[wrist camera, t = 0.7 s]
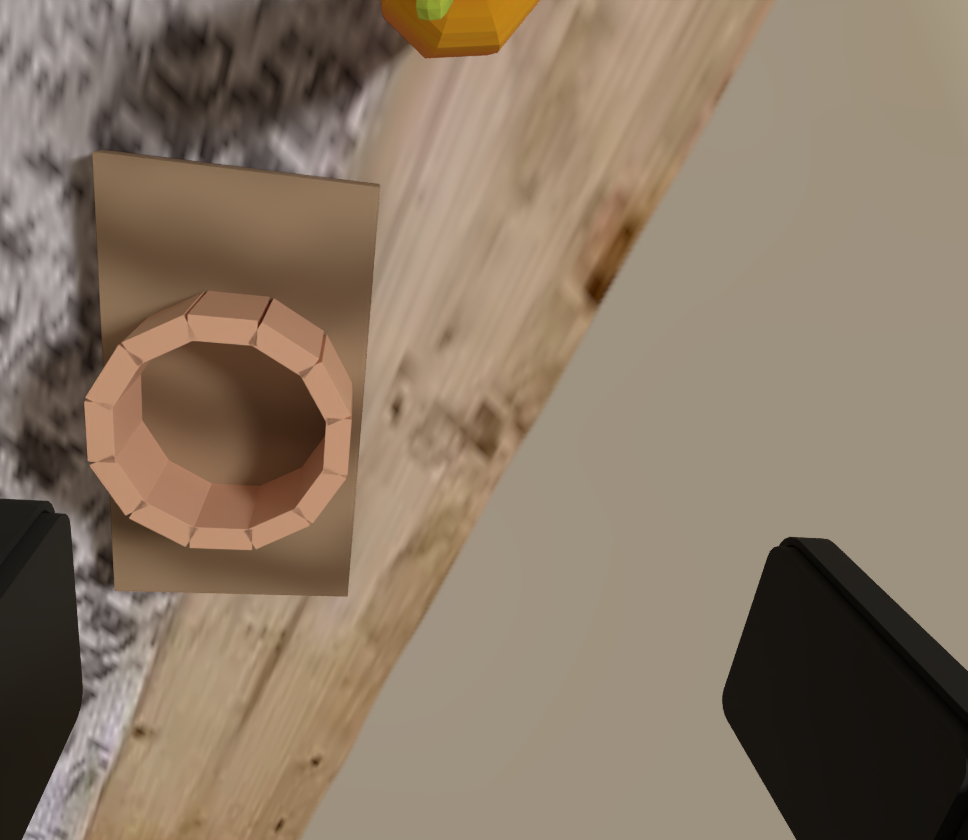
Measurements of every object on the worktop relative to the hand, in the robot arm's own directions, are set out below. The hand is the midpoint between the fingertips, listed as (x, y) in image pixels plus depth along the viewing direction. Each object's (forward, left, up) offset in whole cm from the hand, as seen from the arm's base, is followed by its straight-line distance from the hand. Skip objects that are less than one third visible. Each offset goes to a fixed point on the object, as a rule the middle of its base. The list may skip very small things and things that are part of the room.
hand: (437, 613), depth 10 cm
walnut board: (+7, -6, -26) cm, 27 cm away
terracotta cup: (+7, -6, -24) cm, 26 cm away
